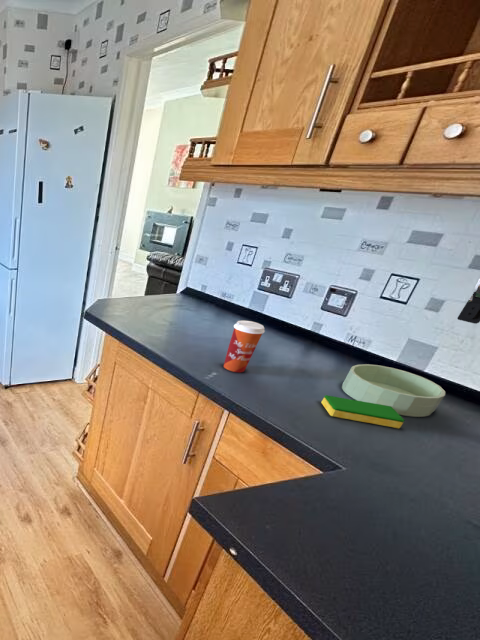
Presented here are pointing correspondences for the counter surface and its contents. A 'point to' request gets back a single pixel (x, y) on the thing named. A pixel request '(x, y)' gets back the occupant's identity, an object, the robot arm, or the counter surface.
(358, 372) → the bowl
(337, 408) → the dish sponge
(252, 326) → the paper cup
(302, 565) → the counter surface
